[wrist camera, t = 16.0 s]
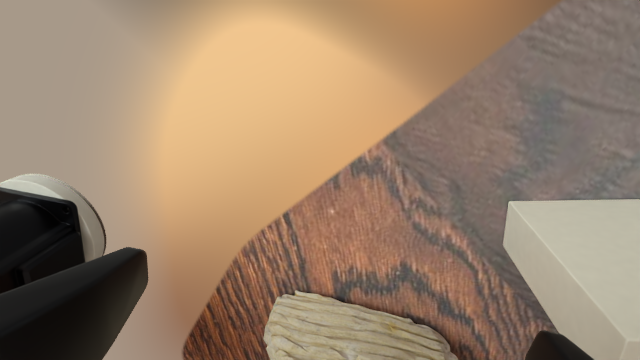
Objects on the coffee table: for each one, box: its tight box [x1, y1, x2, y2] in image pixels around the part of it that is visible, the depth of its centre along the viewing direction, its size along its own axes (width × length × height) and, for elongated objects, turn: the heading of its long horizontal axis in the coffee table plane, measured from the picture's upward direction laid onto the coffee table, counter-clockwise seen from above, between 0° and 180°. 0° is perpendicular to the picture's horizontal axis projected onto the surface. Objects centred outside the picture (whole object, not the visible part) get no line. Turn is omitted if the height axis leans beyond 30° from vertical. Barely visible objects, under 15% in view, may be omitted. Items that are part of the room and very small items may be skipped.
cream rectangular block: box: [503, 199, 640, 360], centre depth 16 cm, size 7×3×10 cm, turn 94°
